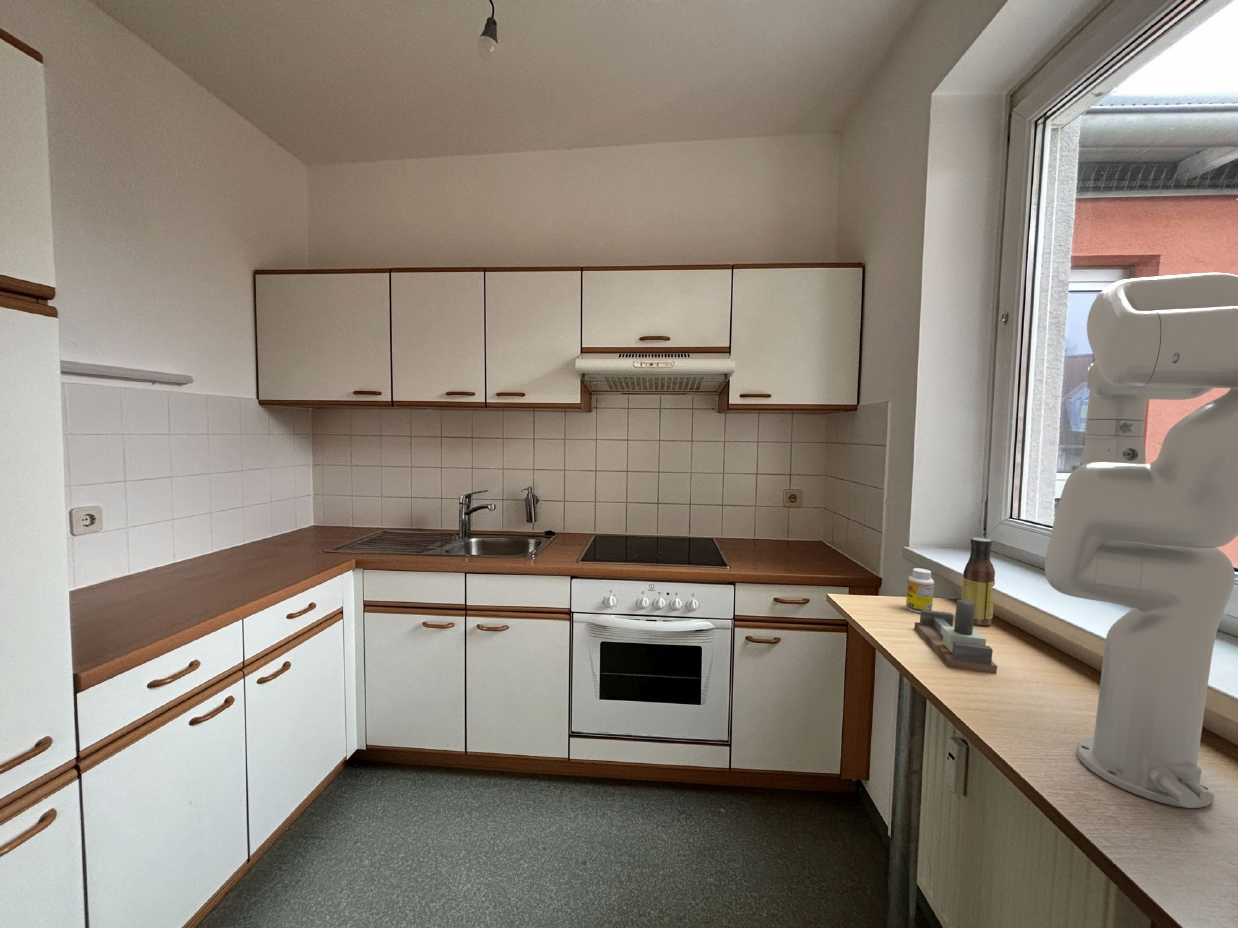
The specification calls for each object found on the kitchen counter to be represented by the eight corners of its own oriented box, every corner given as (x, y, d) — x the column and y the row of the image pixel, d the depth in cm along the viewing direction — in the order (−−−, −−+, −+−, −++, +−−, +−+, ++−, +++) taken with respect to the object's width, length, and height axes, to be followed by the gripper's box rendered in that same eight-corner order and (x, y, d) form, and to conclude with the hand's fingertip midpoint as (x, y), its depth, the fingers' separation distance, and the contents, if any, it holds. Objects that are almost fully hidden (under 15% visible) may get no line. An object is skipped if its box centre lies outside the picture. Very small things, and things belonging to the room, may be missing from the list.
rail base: (996, 673, 98) (998, 649, 98) (948, 667, 100) (950, 644, 99) (953, 633, 117) (955, 613, 117) (914, 628, 119) (916, 608, 119)
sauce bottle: (982, 618, 128) (990, 537, 127) (997, 628, 122) (1006, 542, 120) (953, 616, 129) (961, 535, 127) (967, 625, 122) (976, 540, 121)
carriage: (984, 657, 101) (989, 608, 100) (949, 652, 102) (953, 604, 101) (973, 646, 106) (977, 599, 105) (939, 642, 107) (944, 596, 106)
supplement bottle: (904, 605, 135) (907, 565, 134) (928, 608, 133) (932, 568, 132) (907, 612, 130) (911, 571, 129) (933, 616, 128) (937, 574, 127)
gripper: (1178, 432, 84) (1165, 539, 85) (1105, 431, 101) (1095, 521, 102) (1122, 430, 85) (1110, 534, 87) (1059, 430, 102) (1050, 517, 104)
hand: (1102, 527), depth 94 cm, fingers open, 9 cm apart
